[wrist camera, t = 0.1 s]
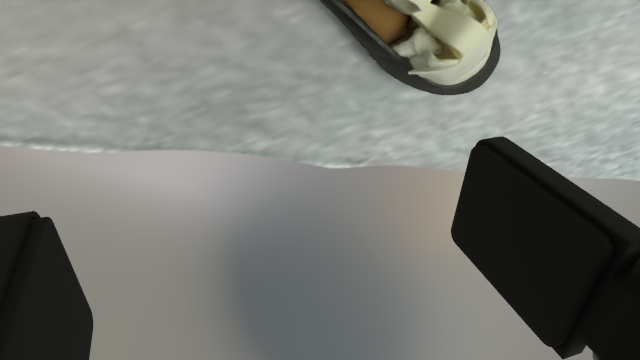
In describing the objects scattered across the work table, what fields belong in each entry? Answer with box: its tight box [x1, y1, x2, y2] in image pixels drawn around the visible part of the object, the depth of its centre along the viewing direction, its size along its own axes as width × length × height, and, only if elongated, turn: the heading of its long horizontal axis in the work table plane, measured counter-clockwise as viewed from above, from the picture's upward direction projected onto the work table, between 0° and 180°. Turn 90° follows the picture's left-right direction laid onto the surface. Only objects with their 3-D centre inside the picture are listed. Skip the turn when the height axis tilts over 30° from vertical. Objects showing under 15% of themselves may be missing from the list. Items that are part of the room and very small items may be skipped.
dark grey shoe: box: [321, 0, 500, 95], centre depth 36 cm, size 10×30×10 cm, turn 57°
